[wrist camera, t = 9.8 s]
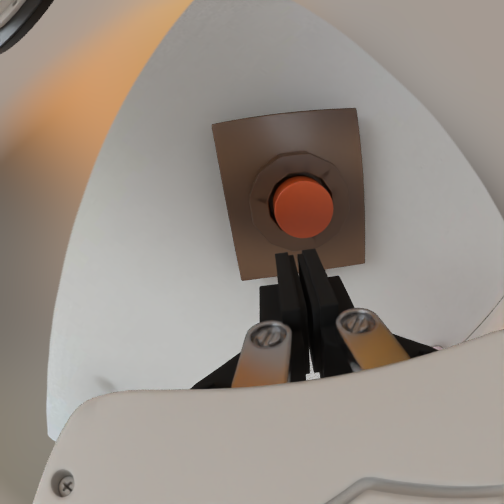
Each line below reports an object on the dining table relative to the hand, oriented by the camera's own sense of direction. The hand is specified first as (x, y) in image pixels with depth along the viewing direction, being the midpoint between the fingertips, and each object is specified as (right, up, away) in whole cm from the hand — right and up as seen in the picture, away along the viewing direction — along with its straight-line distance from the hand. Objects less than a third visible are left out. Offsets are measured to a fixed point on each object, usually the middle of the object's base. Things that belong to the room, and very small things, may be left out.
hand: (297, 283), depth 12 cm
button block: (+1, +6, +10) cm, 12 cm away
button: (+1, +4, +6) cm, 8 cm away
